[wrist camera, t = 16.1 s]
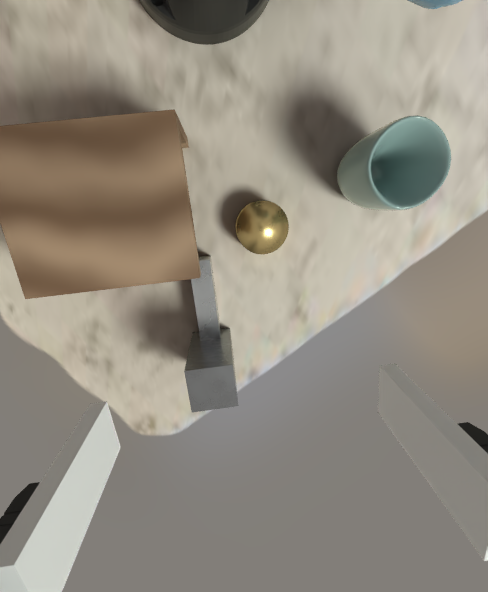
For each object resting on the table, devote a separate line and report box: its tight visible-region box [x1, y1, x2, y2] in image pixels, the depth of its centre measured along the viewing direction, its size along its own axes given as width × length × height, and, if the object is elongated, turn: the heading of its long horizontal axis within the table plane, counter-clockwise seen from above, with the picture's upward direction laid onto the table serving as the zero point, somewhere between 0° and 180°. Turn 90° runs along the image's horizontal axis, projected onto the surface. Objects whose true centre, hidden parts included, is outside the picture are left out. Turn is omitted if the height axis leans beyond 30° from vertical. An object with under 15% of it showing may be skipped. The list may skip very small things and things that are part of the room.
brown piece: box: [0, 110, 201, 299], centre depth 31 cm, size 14×16×10 cm
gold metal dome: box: [235, 201, 288, 254], centre depth 36 cm, size 6×6×3 cm
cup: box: [337, 116, 451, 211], centre depth 32 cm, size 8×8×10 cm
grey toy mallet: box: [185, 256, 238, 412], centre depth 35 cm, size 15×5×10 cm, turn 6°
